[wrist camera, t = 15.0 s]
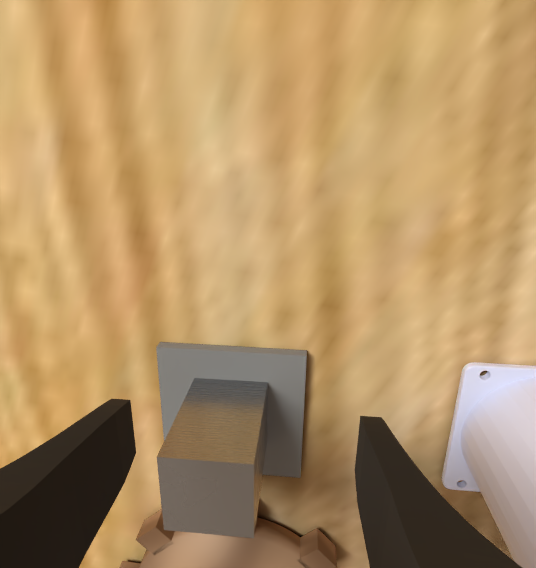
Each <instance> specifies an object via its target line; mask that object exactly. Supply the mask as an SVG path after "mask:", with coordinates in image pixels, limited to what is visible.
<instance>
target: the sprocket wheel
mask: <svg viewBox="0 0 536 568" xmlns="http://www.w3.org/2000/svg"><path fill="white" fill-rule="evenodd" d="M136 540H137V541H138V542H139V543H140V544H141V545H142V546H144V547H145V548H146V549H147V550H146V552H145V554H144V557H143V559H142V562H141V563H133V562H126V561H122V563H121V566H120V568H337V563H336V547H335V545H334V544H333V543H332V542H331V541H330V540H329V539H328V538H327V537H326V536H325V535H324V534H323V533H322V532H321V531H320V530H319V529H318V528H317V529H315V530H313V531H311V532H309V533H308V534H306V535H304V536H302V537H299V536H297V535H296V534H294V533H293V532H291V531H289V530H288V529H286V528H284V527H282V526H280V525H278V524H275V523H273V522H270V521H268V520H265V519H261V518H258V517H257V520H256V527H255V534H254V538H245V537H234V536H224V535H213V534H202V533H191V532H180V531H169V530H164V525H163V515H162V509H161V510H159V511H158V512H156V513H155V514H153V515H152V516H150V517H148V518H147V519H145V520H144V522H143V524H142V527H141V529H140V531H139V534H138V536H137V538H136Z"/></svg>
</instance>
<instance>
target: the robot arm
mask: <svg viewBox="0 0 536 568" xmlns="http://www.w3.org/2000/svg"><path fill="white" fill-rule="evenodd" d="M482 371H487V373H486V374H485V375H482V376H481V375H480V373H481V372H482ZM135 454H136V448H135V439H134V430H133V421H132V412H131V403H130V400H122V399H111V400H109V401H107V402H106V403H104V404H103V405H101V406H99V407H98V408H97V409H95V410H94V411H92V412H91V413H89V414H88V415H86V416H85V417H83V418H82V419H80V420H79V421H77V422H76V423H74V424H73V425H71V426H70V427H68V428H67V429H66V430H64V431H63V432H61V433H60V434H58V435H57V436H55V437H53V438H52V439H50V440H49V441H47V442H45V443H44V444H42V445H40V446H39V447H37V448H36V449H34V450H32V451H31V452H29V453H28V454H26V455H24V456H23V457H21V458H19V459H17V460H16V461H14V462H12V463H10V464H8V465H6V466H5V467H3V468H1V469H0V568H79V566H80V564H81V562H82V560H83V558H84V556H85V554H86V552H87V550H88V548H89V547H90V545H91V543H92V541H93V539H94V537H95V536H96V534H97V532H98V530H99V528H100V527H101V525H102V523H103V521H104V519H105V518H106V516H107V514H108V512H109V510H110V508H111V507H112V505H113V503H114V501H115V499H116V497H117V496H118V494H119V492H120V490H121V488H122V486H123V484H124V482H125V480H126V477H127V475H128V472H129V470H130V467H131V465H132V462H133V459H134V457H135ZM355 478H356V491H357V502H358V508H359V513H360V518H361V524H362V529H363V534H364V539H365V544H366V549H367V554H368V559H369V564H370V568H536V366H528V365H511V364H494V363H476V362H473V363H468V364H466V365H465V366H464V367H463V370H462V374H461V379H460V384H459V390H458V395H457V400H456V405H455V410H454V416H453V421H452V426H451V431H450V436H449V441H448V447H447V452H446V457H445V462H444V467H443V473H442V483H443V485H444V486H445V487H446V488H447V489H451V490H463V491H476V492H481V494H482V496H483V498H484V500H485V502H486V504H487V506H488V508H489V510H490V512H491V515H492V517H493V519H494V521H495V523H496V525H497V527H498V529H499V531H500V533H501V535H502V537H503V539H504V541H505V544H506V546H507V548H508V550H509V552H510V554H511V556H512V558H513V560H514V561H513V560H512V559H511V558H509V557H508V556H507V555H505V554H504V553H503V552H502V551H500V550H499V549H498V548H497V547H496V546H494V545H493V544H492V543H491V542H490V541H489V540H487V539H486V538H485V537H484V536H483V535H482V534H480V533H479V532H478V531H477V530H476V529H475V528H474V527H473V526H471V525H470V524H469V523H468V522H467V521H466V520H465V519H464V518H463V517H462V516H461V515H460V514H459V513H458V512H457V511H456V510H455V509H454V508H453V507H452V506H451V505H450V504H449V503H448V502H447V501H446V500H445V499H444V498H443V497H442V496H441V495H440V493H439V492H438V491H437V490H436V489H435V488H434V487H433V485H432V484H431V483H430V482H429V481H428V480H427V478H426V477H425V476H424V475H423V474H422V472H421V471H420V470H419V469H418V467H417V466H416V465H415V463H414V462H413V461H412V460H411V458H410V457H409V456H408V454H407V453H406V452H405V450H404V449H403V448H402V446H401V445H400V443H399V442H398V441H397V439H396V438H395V436H394V435H393V433H392V432H391V430H390V429H389V427H388V426H387V424H386V423H385V421H384V420H383V419H382V418H381V417H367V416H361V417H360V426H359V436H358V445H357V455H356V464H355ZM460 480H463V481H462V482H458V481H460Z"/></svg>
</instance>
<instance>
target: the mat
mask: <svg viewBox="0 0 536 568" xmlns="http://www.w3.org/2000/svg"><path fill="white" fill-rule="evenodd" d="M156 348H157V360H158V372H159V384H160V396H161V408H162V421H163V433H164V441H165V439H166V437H167V435H168V433H169V430H170V428H171V426H172V424H173V422H174V420H175V418H176V416H177V414H178V412H179V409H180V407H181V405H182V403H183V401H184V399H185V397H186V395H187V393H188V391H189V388H190V386H191V384H192V382H193V380H194V378H204V379H221V380H238V381H255V382H268V399H267V447H266V454H265V462H264V469H263V475H273V476H285V477H297V478H300V477H301V457H302V437H303V418H304V398H305V379H306V359H307V350H290V349H273V348H255V347H238V346H220V345H203V344H185V343H168V342H160V343H159V344H158V346H157V347H156Z"/></svg>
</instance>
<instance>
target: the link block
mask: <svg viewBox="0 0 536 568" xmlns="http://www.w3.org/2000/svg"><path fill="white" fill-rule="evenodd" d="M267 399H268V382H255V381H238V380H221V379H204V378H194V380H193V382H192V384H191V386H190V388H189V391H188V393H187V395H186V397H185V399H184V401H183V403H182V405H181V407H180V409H179V412H178V414H177V416H176V418H175V420H174V422H173V424H172V426H171V428H170V430H169V433H168V435H167V437H166V439H165V441H164V443H163V445H162V447H161V449H160V451H159V454H158V456H157V463H158V474H159V484H160V494H161V505H162V515H163V525H164V530H169V531H180V532H191V533H202V534H213V535H224V536H234V537H245V538H254V534H255V527H256V520H257V512H258V505H259V498H260V491H261V483H262V476H263V469H264V462H265V454H266V447H267Z"/></svg>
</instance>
